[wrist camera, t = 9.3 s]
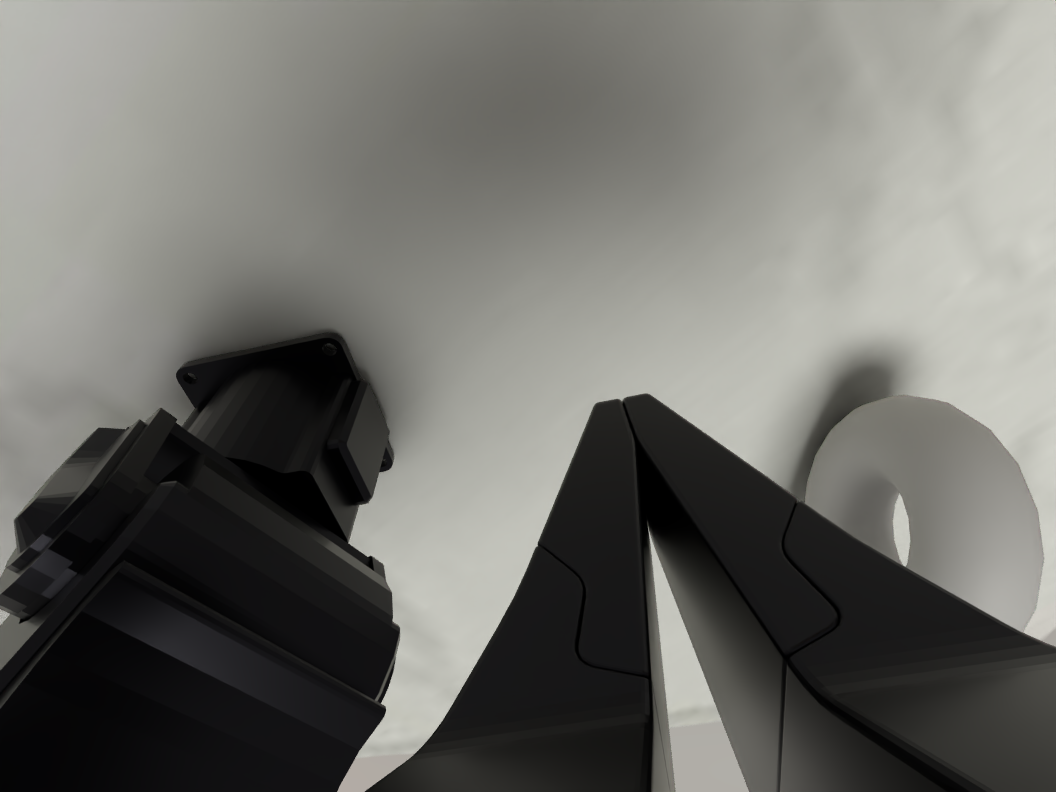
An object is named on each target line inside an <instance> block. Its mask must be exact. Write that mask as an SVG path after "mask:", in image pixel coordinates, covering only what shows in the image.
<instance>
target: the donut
mask: <svg viewBox="0 0 1056 792" xmlns="http://www.w3.org/2000/svg"><path fill="white" fill-rule="evenodd" d="M899 493H900V494H901V496H902V499H903V502H904V505H905V508H906V512H907V515H908V518H909V529H910V549H909V556H908V563H907V565H906V567H907V568H908V569H910V570H912V571H914V572H915V573H917V574H919V575H921V576H923V577H924V578H926V579H928V580H930V581H931V582H933V583H935V584H937V585H938V586H940V587H942V588H944V589H946V590H947V591H949V592H951V593H953V594H954V595H956V596H958V597H960V598H961V599H963V600H965V601H967V602H969V603H970V604H972V605H974V606H976V607H977V608H979V609H981V610H983V611H984V612H986V613H988V614H990V615H992V616H993V617H995V618H997V619H999V620H1000V621H1002V622H1004V623H1006V624H1008V625H1010V626H1011V627H1013V628H1015V629H1017V630H1019V631H1021V632H1023V631H1024V630H1025V628H1026V626H1027V624H1028V623H1029V621H1030V619H1031V617H1032V615H1033V614H1034V612H1035V610H1036V606H1037V600H1038V594H1039V588H1040V582H1041V576H1042V570H1043V563H1044V553H1043V546H1042V538H1041V530H1040V522H1039V515H1038V510H1037V507H1036V505H1035V503H1034V500H1033V498H1032V496H1031V493H1030V491H1029V488H1028V486H1027V484H1026V481H1025V479H1024V477H1023V474H1022V472H1021V469H1020V467H1019V465H1018V463H1017V462H1016V460H1015V459H1014V458H1013V457H1012V456H1011V454H1010V453H1009V452H1008V451H1007V449H1006V448H1005V447H1004V446H1003V444H1002V443H1001V442H1000V441H999V440H998V438H997V437H996V436H995V435H994V433H993V432H992V431H991V430H990V429H989V428H987V427H986V426H984V425H983V424H981V423H980V422H978V421H977V420H975V419H973V418H972V417H970V416H969V415H967V414H965V413H964V412H962V411H961V410H959V409H957V408H956V407H954V406H953V405H951V404H949V403H947V402H942V401H938V400H933V399H927V398H921V397H914V396H908V395H898V396H890V397H886V398H883V399H880V400H877V401H873V402H870V403H867V404H864V405H862V406H860V407H858V408H856V409H854V410H853V411H852V412H850V413H849V414H848V415H847V416H846V417H845V418H843V419H842V420H841V421H840V422H839V423H838V424H836V425H835V426H834V427H833V429H832V430H831V431H830V432H829V433H828V435H827V437H826V438H825V440H824V442H823V443H822V445H821V447H820V448H819V450H818V452H817V453H816V455H815V458H814V462H813V465H812V468H811V471H810V474H809V477H808V480H807V487H806V496H805V504H807V505H808V506H810V507H811V508H813V509H814V510H815V511H817V512H818V513H820V514H821V515H823V516H824V517H826V518H827V519H829V520H830V521H832V522H833V523H835V524H836V525H838V526H839V527H841V528H842V529H844V530H845V531H847V532H848V533H850V534H851V535H853V536H854V537H856V538H857V539H859V540H861V541H862V542H864V543H866V544H867V545H869V546H871V547H873V548H874V549H876V550H878V551H879V552H881V553H883V554H884V555H886V556H888V557H889V558H891V559H893V560H894V561H896V562H898V563H900V564H901V565H903V564H902V562H901V560H900V559H899V555H898V552H897V548H896V545H895V541H894V531H893V516H894V509H895V503H896V501H897V498H898V496H899Z"/></svg>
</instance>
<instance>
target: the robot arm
mask: <svg viewBox="0 0 1056 792" xmlns="http://www.w3.org/2000/svg"><path fill="white" fill-rule="evenodd" d="M325 344H332V345H334V346H335V347H336V350H330V349H328V348H327V347H326V346H325ZM188 373H192V374H194V375H195V376H196V377H197V379H194V378H192V377H191V376H190V375H189V374H188ZM176 378H177V380H178V382H179V384H180V385H181V387H182V388H183V390H184V392H185V393H186V395H187V396H188V398H189V399H190V401H191V403H192V404H193V406H194V407H195V410H194V411H193V412H192V414H191V415H190V416H189V418H188V419H187V420H186V422H185V423H184V424H183V425H182V427H181V426H180V425H178V424H177V423H176V421H177V419H176V418H175V417H173V416H172V415H171V414H169V413H168V412H166V411H165V410H163V409H162V408H160V409H159V410H158V411H157V412H155V413H154V414H153V415H152V416H151V417H150V418H149V419H148V420H147V421H146V422H143V421H141V420H138V421H137V422H136V423H135V424H134V425H132V426H131V427H130V428H129V427H127V428H126V429H111V428H98V429H97V430H96V431H95V432H94V433H92V434H91V435H90V436H89V437H88V438H87V439H86V440H85V441H84V442H83V443H82V444H81V445H80V446H79V447H78V448H77V450H76V451H75V452H74V453H73V454H72V455H71V456H70V457H69V458H68V459H67V460H66V461H65V462H64V463H63V464H62V465H61V466H60V467H59V468H58V469H57V470H56V472H55V473H54V474H53V475H52V476H51V477H50V478H49V479H48V480H47V481H46V482H45V483H44V485H43V486H42V487H41V488H40V489H39V490H38V492H37V493H36V494H35V495H34V497H33V498H32V499H31V500H30V501H29V503H28V504H27V505H26V506H25V507H24V509H23V510H22V511H21V512H20V513H19V515H18V516H17V517H16V518H15V519H14V527H15V536H16V545H17V548H16V549H15V551H14V552H13V554H12V555H11V557H10V558H9V560H8V562H7V564H6V566H5V567H6V568H5V570H4V572H3V574H2V575H1V577H0V609H1V610H3V611H6V612H8V613H10V615H9V616H8V617H7V619H6V620H5V621H4V622H3V623H2V624H1V625H0V792H337V791H338V788H339V786H340V784H341V782H342V781H343V779H344V777H345V775H346V773H347V772H348V770H349V768H350V766H351V765H352V763H353V761H354V759H355V758H356V756H357V754H358V752H359V750H360V749H361V748H362V746H363V745H364V744H365V742H366V741H367V740H368V738H369V737H370V735H371V734H372V733H373V731H374V730H375V729H376V727H377V726H378V725H379V723H380V722H381V721H382V719H383V718H384V715H385V713H386V707H385V706H384V705H382V704H381V702H382V700H383V698H384V696H385V694H386V691H387V689H388V687H389V684H390V680H391V677H392V674H393V671H394V665H395V659H396V654H397V649H398V645H399V641H400V627H399V626H398V625H397V624H396V623H394V622H393V621H392V619H393V607H392V592H391V590H390V588H389V586H388V584H387V583H386V578H385V571H384V565H383V564H382V563H381V562H379V561H378V560H376V559H375V558H374V557H372V556H369V557H367V556H365V555H364V554H362V553H361V552H360V551H358V550H357V549H355V548H354V547H352V546H351V545H350V544H348V542H349V539H350V535H351V532H352V528H353V525H354V521H355V518H356V514H357V511H358V507H359V505H362V504H367V503H369V501H370V500H371V498H372V496H373V493H374V489H375V486H376V482H377V478H378V474H379V472H384V471H387V470H389V469H390V468H391V467H392V464H393V460H394V454H393V452H392V449H391V447H390V445H389V443H388V437H389V429H388V427H387V424H386V422H385V420H384V417H383V415H382V413H381V410H380V408H379V405H378V403H377V401H376V398H375V396H374V394H373V391H372V389H371V387H370V384H369V383H368V382H366V381H365V380H363V379H361V378H360V375H359V373H358V371H357V369H356V366H355V364H354V362H353V359H352V357H351V355H350V352H349V350H348V348H347V345H346V343H345V341H344V340H343V338H342V337H341V336H339V335H338V334H335V333H323V334H318V335H314V336H309V337H304V338H300V339H295V340H290V341H285V342H281V343H276V344H271V345H266V346H262V347H257V348H252V349H247V350H243V351H238V352H233V353H228V354H224V355H219V356H214V357H209V358H205V359H200V360H195V361H190V362H187V363H185V364H183V365H182V367H181V368H180V369H179V370H178V371H177V373H176ZM382 459H385V461H382ZM648 528H649V532H650V535H651V538H652V541H653V544H654V547H655V549H656V552H657V555H658V557H659V560H660V562H661V565H662V568H663V570H664V573H665V575H666V578H667V580H668V583H669V586H670V588H671V591H672V593H673V596H674V599H675V601H676V604H677V606H678V609H679V611H680V614H681V617H682V619H683V622H684V624H685V627H686V630H687V632H688V635H689V637H690V640H691V642H692V645H693V648H694V650H695V653H696V655H697V658H698V661H699V663H700V666H701V668H702V671H703V673H704V676H705V679H706V681H707V684H708V686H709V689H710V692H711V694H712V697H713V699H714V702H715V704H716V707H717V710H718V712H719V715H720V717H721V720H722V723H723V725H724V728H725V730H726V733H727V735H728V738H729V741H730V743H731V746H732V748H733V751H734V753H735V756H736V759H737V761H738V764H739V766H740V769H741V771H742V774H743V777H744V779H745V782H746V784H747V787H748V789H749V792H1056V647H1055V646H1052V645H1050V644H1047V643H1045V642H1043V641H1040V640H1038V639H1036V638H1034V637H1031V636H1029V635H1027V634H1025V633H1023V632H1021V631H1019V630H1017V629H1015V628H1013V627H1011V626H1010V625H1008V624H1006V623H1004V622H1002V621H1000V620H999V619H997V618H995V617H993V616H992V615H990V614H988V613H986V612H984V611H983V610H981V609H979V608H977V607H976V606H974V605H972V604H970V603H969V602H967V601H965V600H963V599H961V598H960V597H958V596H956V595H954V594H953V593H951V592H949V591H947V590H946V589H944V588H942V587H940V586H938V585H937V584H935V583H933V582H931V581H930V580H928V579H926V578H924V577H923V576H921V575H919V574H917V573H915V572H914V571H912V570H910V569H908V568H907V567H905V566H903V565H901V564H900V563H898V562H896V561H894V560H893V559H891V558H889V557H888V556H886V555H884V554H883V553H881V552H879V551H878V550H876V549H874V548H873V547H871V546H869V545H867V544H866V543H864V542H862V541H861V540H859V539H857V538H856V537H854V536H853V535H851V534H850V533H848V532H847V531H845V530H844V529H842V528H841V527H839V526H838V525H836V524H835V523H833V522H832V521H830V520H829V519H827V518H826V517H824V516H823V515H821V514H820V513H818V512H817V511H815V510H814V509H813V508H811V507H810V506H808V505H807V504H805V503H804V502H802V501H799V502H798V499H797V498H796V497H795V496H794V495H792V494H791V493H789V492H788V491H787V490H785V489H784V488H782V487H781V486H779V485H778V484H777V483H775V482H774V481H772V480H771V479H770V478H768V477H767V476H765V475H764V474H762V473H761V472H760V471H758V470H757V469H755V468H754V467H752V466H751V465H750V464H748V463H747V462H745V461H744V460H743V459H741V458H740V457H738V456H737V455H735V454H734V453H733V452H731V451H730V450H728V449H727V448H725V447H724V446H723V445H721V444H720V443H718V442H717V441H715V440H714V439H713V438H711V437H710V436H708V435H707V434H706V433H704V432H703V431H701V430H700V429H698V428H697V427H696V426H694V425H693V424H691V423H690V422H688V421H687V420H686V419H684V418H683V417H681V416H680V415H678V414H677V413H676V412H674V411H673V410H671V409H670V408H669V407H667V406H666V405H664V404H663V403H661V402H660V401H659V400H657V399H656V398H654V397H653V396H651V395H650V394H640V395H635V396H630V397H626V398H624V399H623V401H621V400H619V399H614V400H609V401H604V402H599V403H596V404H595V405H594V407H593V409H592V412H591V414H590V417H589V419H588V422H587V424H586V427H585V429H584V431H583V434H582V436H581V439H580V441H579V444H578V446H577V449H576V451H575V453H574V456H573V458H572V461H571V463H570V466H569V468H568V471H567V473H566V475H565V478H564V480H563V483H562V485H561V488H560V490H559V493H558V495H557V497H556V500H555V502H554V505H553V507H552V510H551V512H550V514H549V517H548V519H547V522H546V524H545V527H544V529H543V532H542V534H541V536H540V539H539V541H538V546H537V547H536V548H535V550H534V553H533V555H532V558H531V560H530V563H529V565H528V568H527V570H526V572H525V574H524V576H523V579H522V581H521V583H520V585H519V587H518V590H517V592H516V594H515V596H514V598H513V600H512V602H511V603H510V605H509V607H508V609H507V611H506V613H505V614H504V616H503V618H502V620H501V622H500V624H499V625H498V627H497V629H496V631H495V632H494V634H493V636H492V638H491V639H490V641H489V643H488V644H487V646H486V648H485V650H484V651H483V653H482V655H481V656H480V658H479V660H478V662H477V663H476V665H475V667H474V668H473V670H472V672H471V674H470V675H469V677H468V679H467V681H466V682H465V684H464V686H463V687H462V689H461V691H460V693H459V694H458V696H457V698H456V699H455V701H454V703H453V705H452V706H451V708H450V710H449V711H448V713H447V714H446V716H445V718H444V719H443V721H442V722H441V724H440V725H439V726H438V728H437V729H436V731H435V732H434V733H433V735H432V736H431V737H430V738H429V739H428V740H427V742H426V743H425V744H424V745H423V746H422V747H421V748H420V749H419V750H418V751H417V752H416V753H415V754H414V755H413V756H412V757H411V758H410V759H409V760H407V761H406V762H405V763H403V764H402V765H400V766H399V767H398V768H396V769H395V770H394V771H392V772H391V773H389V774H388V775H387V776H385V777H384V778H383V779H381V780H380V781H378V782H377V783H376V784H374V785H373V786H372V787H370V788H369V789H368V790H366V791H365V792H675V783H674V773H673V764H672V753H671V744H670V734H669V724H668V714H667V704H666V694H665V684H664V674H663V664H662V654H661V645H660V635H659V625H658V615H657V605H656V595H655V585H654V575H653V565H652V555H651V546H650V539H649V532H648Z"/></svg>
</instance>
